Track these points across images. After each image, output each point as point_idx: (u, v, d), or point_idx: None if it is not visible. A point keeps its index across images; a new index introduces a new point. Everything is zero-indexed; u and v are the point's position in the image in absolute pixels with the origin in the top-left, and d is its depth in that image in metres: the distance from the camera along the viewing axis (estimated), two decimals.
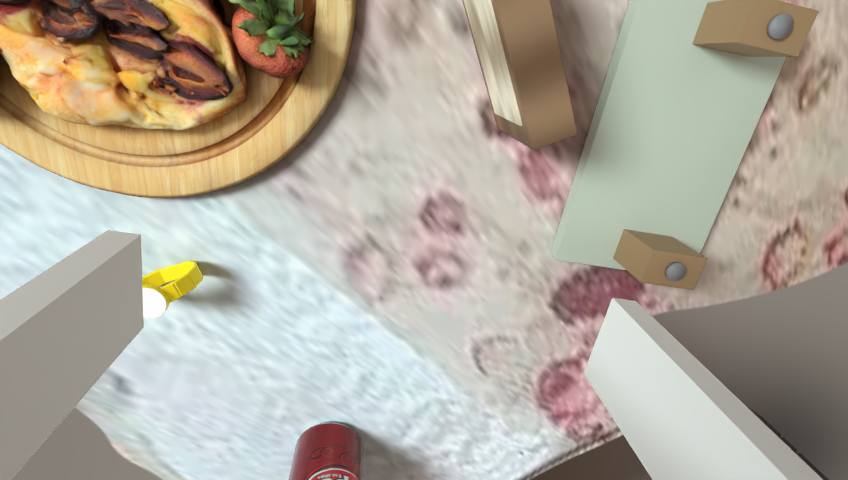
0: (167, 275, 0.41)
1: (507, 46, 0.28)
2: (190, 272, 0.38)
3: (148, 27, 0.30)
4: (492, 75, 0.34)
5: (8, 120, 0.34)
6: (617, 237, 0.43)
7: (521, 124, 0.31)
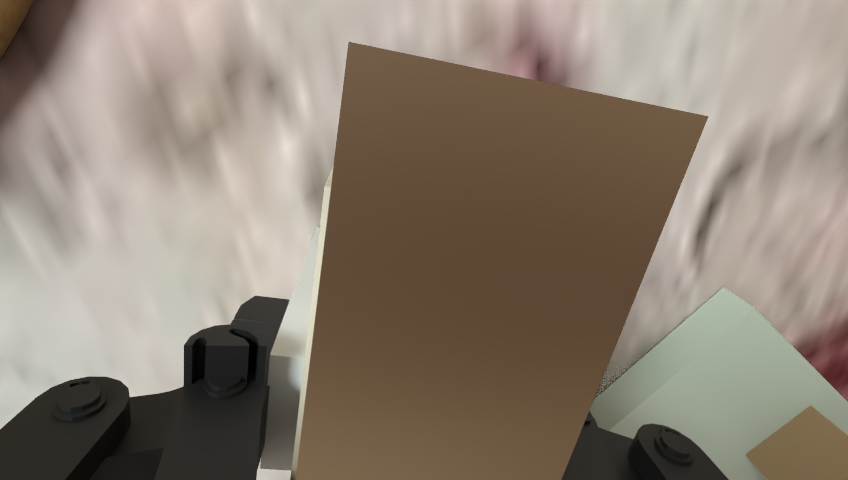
0: None
1: None
2: None
3: None
4: None
5: None
6: None
7: None
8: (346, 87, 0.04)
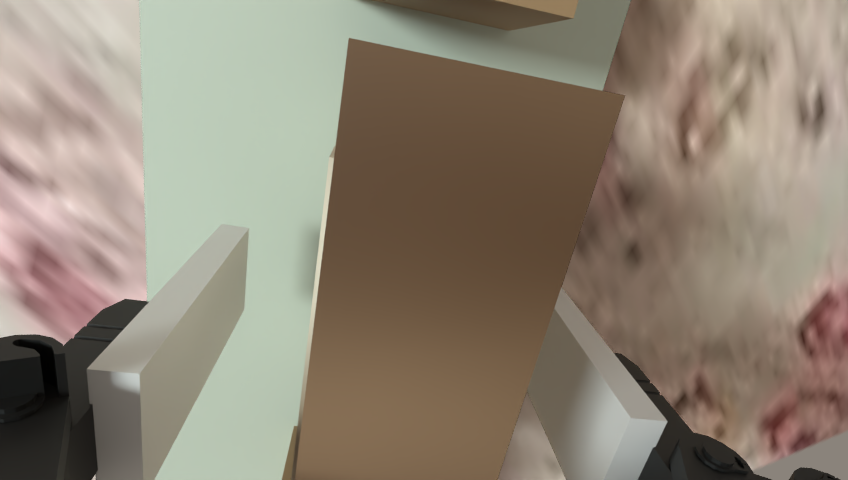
0: None
1: None
2: None
3: None
4: None
5: None
6: (284, 443, 0.19)
7: None
8: (347, 72, 0.05)
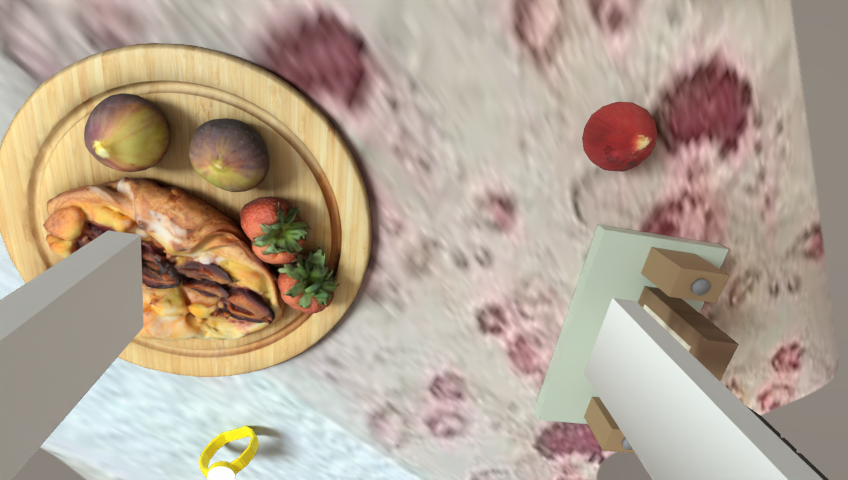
0: (229, 437, 0.52)
1: None
2: (251, 444, 0.49)
3: (215, 281, 0.40)
4: None
5: None
6: (586, 402, 0.53)
7: None
8: (706, 343, 0.39)
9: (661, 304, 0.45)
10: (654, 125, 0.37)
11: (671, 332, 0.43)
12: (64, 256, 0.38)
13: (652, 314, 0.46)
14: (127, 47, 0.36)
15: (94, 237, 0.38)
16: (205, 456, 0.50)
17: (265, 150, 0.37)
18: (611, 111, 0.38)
